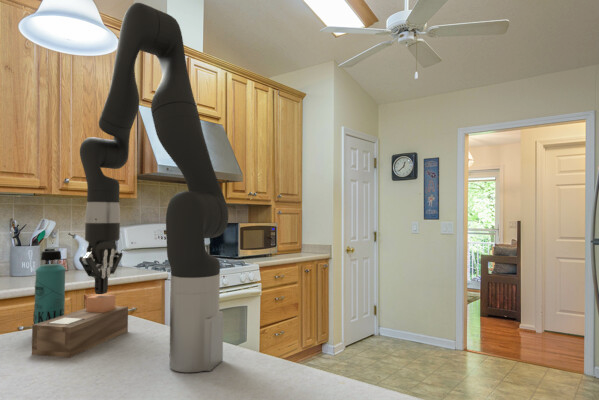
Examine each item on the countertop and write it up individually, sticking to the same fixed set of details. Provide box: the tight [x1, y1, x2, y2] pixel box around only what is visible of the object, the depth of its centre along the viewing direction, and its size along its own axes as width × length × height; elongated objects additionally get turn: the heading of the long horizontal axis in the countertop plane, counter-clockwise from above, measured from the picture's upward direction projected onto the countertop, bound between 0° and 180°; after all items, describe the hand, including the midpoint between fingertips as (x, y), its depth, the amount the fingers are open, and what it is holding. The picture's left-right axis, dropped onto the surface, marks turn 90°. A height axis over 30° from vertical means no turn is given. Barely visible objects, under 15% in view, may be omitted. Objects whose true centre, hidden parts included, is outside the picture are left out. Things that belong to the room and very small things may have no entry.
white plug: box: [49, 318, 83, 325], centre depth 87 cm, size 4×4×5 cm
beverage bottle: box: [32, 249, 66, 325], centre depth 98 cm, size 6×7×20 cm
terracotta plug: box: [86, 293, 116, 313], centre depth 98 cm, size 4×4×5 cm
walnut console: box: [31, 305, 129, 359], centre depth 92 cm, size 9×19×6 cm, turn 169°
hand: (101, 293), depth 98 cm, fingers closed
